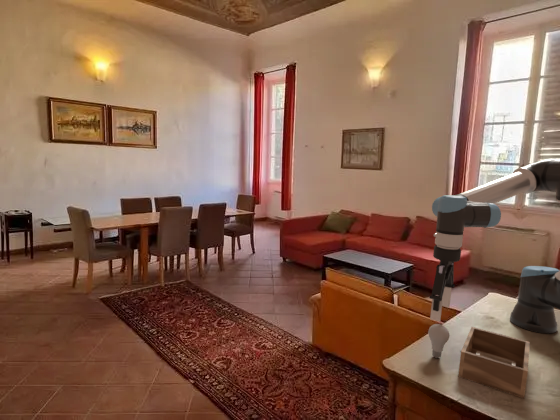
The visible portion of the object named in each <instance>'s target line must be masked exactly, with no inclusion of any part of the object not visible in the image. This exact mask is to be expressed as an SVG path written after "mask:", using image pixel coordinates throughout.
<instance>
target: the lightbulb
mask: <svg viewBox="0 0 560 420" xmlns="http://www.w3.org/2000/svg"><path fill="white" fill-rule="evenodd" d="M427 334H428V339H430V342H431V349H432V351H431V354H432V356H433V357H434V359H435V358H436V359H438V358H441V356H442V352H443V350H444V346H445V345H446V343H448V341H449V340H450V336H451V335H450V332H449V329H448V327H446V326H445V325H443V324H440V323H435V324H432V325H431V326H429V329H428V332H427Z"/></svg>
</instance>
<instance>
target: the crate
mask: <svg viewBox="0 0 560 420" xmlns="http://www.w3.org/2000/svg"><path fill="white" fill-rule="evenodd" d="M530 343H531V342H530V341H528V340H524V339H521V338H516V337H512V336H509V335H506V334H501V333H497V332H493V331H490V330H486V329H483V328H478V327H474V326H471V327H470V329H469V331H468V334H467V336H466V339H465V341H464V344H463V346H462V349H461V351H460V355H459V356H460V358H459V365H458V366H459V368H458V375H457V376H458V377H459V378H462V379H464V380H466V381H467V380H468V381H470V382H473V383H477V384H480V385H483V386H485V387H488V388H491V389H495V390H497V391H501V392H503V393H506V394H509V395H512V396H515V397H518V398H521V399H525V394H526V388H527V381H528V373H529V359H530V358H529V357H530Z"/></svg>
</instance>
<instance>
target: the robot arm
mask: <svg viewBox="0 0 560 420" xmlns="http://www.w3.org/2000/svg"><path fill="white" fill-rule="evenodd" d="M533 192H551V193H555V200H556V201H557V202H558V203H559V204H560V158H559V157H552V158H546V159H541V160H539V161H534V162H532V163H528V164H526V165H524V166H520V167H518V168H516V169H515V170H514V171H513V172H512V173H511V174H508V175H505V176H503V177H500V178H498V179H494V180H492V181H489V182H486V183H485V184H482V185H479V186H476V187H474V188H471V189H469V190H465V191H463V192H460V193H459V194H455V195H454V194H453V195H451V194H450V195H449V194H447V195H446V194H444V195H442V196H439V197H437V198H436V199H434V201H433V202H432V205H431V211H432V213H433V215H434V216H435V217H436V227H435V233H433V237H434V244H435V245H434V247H433V254H432V257H433V258H434V259H436V260H439V264H437V265H436V267H435V268H436V269H435V275H434V281H433V286H432V291H431V295H429V299H431V307H430V315H429V317H430V319H429V320H431V321H435V322H439V323H440V322H441V318H442V317H441V316H442V308H443V307H445V308H448V309H449V308H450V305H451V297H452V290H453V289H452V288H455V286H456V284H454V282H455V281H454V279H455V278H454V276H455V275H454V273H455V270H454V269H455V268H454V267H455V266H454V265H455V263H457V262H460V261H461V255H462V249H461V248H462V247H463V239H464V230H465V228H484V229H485V228H493V227H495V226H497V225H498V224H499V223H500V222H501V218H502V211H501V209H500V207H499V206H498V205H497V203H499V202H501V201H505V200H507V199H510V198H513V197H515V196H518V195H521V194H524V195H525V194H531V193H533ZM555 308H556V309H557V310H560V269H558V268H555V267H549V266H541V265H540V266H539V265H528V266H524V267H523V268H522V270H521V275H520V279H519V287H518V296H517V302H516V304H515V306H514V307H513V310H512V311H511V313H510V316H509V320H510V322H511V324H513V325H514V326H517V327H519V328H521V329H524V330H527V331H530V332H533V333H540V334H555V333H556V332H558V331H557V330H558V322H557V321H556V320H557V319H556V318H557V317H556V314H555V313H556V312H555Z"/></svg>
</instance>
